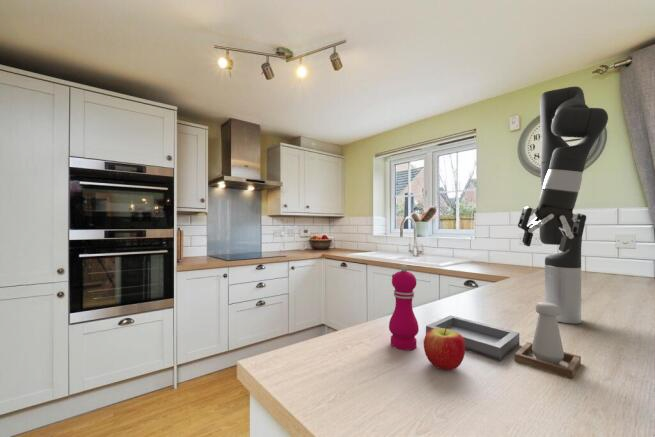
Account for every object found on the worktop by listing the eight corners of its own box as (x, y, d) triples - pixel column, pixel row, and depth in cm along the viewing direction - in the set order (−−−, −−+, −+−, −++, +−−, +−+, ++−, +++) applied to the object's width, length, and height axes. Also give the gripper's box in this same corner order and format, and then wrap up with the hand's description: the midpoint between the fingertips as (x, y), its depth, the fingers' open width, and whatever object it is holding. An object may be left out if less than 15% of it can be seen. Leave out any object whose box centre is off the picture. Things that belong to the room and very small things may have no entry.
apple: (446, 381, 56) (447, 329, 57) (414, 362, 64) (415, 316, 64) (474, 371, 60) (474, 323, 60) (441, 355, 68) (441, 311, 68)
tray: (450, 325, 88) (450, 315, 88) (519, 344, 74) (519, 332, 74) (425, 337, 78) (425, 325, 78) (500, 361, 65) (500, 347, 65)
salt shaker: (570, 369, 62) (570, 308, 62) (539, 366, 63) (539, 306, 63) (554, 357, 67) (554, 300, 67) (526, 354, 68) (527, 299, 69)
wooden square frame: (527, 348, 72) (527, 342, 72) (580, 363, 65) (580, 356, 65) (514, 360, 65) (514, 353, 65) (572, 378, 58) (572, 371, 58)
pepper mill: (420, 342, 75) (421, 264, 75) (416, 353, 68) (417, 268, 69) (392, 337, 78) (392, 262, 78) (385, 347, 71) (386, 265, 72)
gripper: (582, 191, 78) (566, 249, 81) (523, 184, 81) (510, 240, 84) (601, 193, 71) (582, 257, 74) (536, 185, 73) (520, 247, 77)
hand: (544, 248), depth 79 cm, fingers open, 8 cm apart
